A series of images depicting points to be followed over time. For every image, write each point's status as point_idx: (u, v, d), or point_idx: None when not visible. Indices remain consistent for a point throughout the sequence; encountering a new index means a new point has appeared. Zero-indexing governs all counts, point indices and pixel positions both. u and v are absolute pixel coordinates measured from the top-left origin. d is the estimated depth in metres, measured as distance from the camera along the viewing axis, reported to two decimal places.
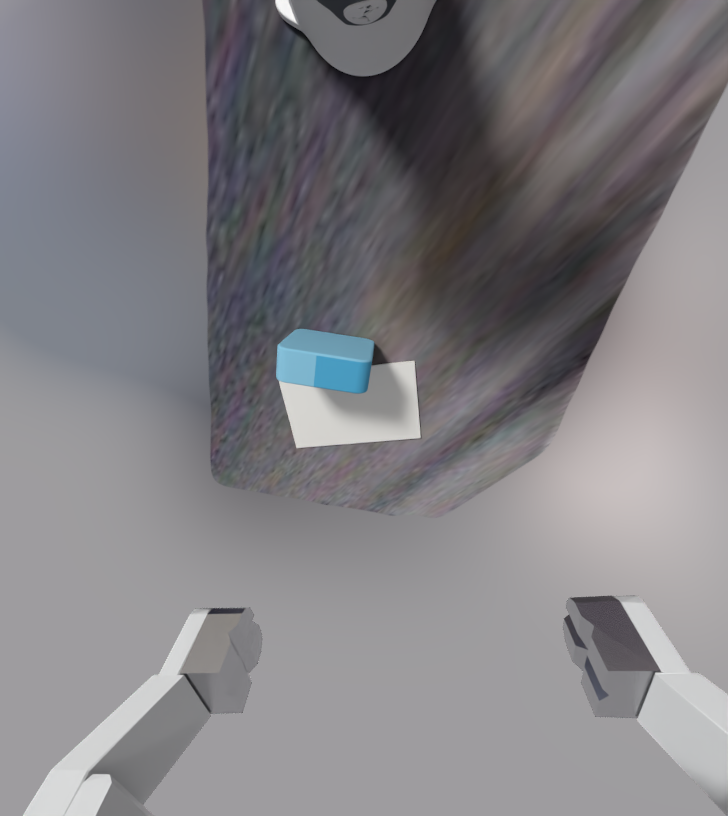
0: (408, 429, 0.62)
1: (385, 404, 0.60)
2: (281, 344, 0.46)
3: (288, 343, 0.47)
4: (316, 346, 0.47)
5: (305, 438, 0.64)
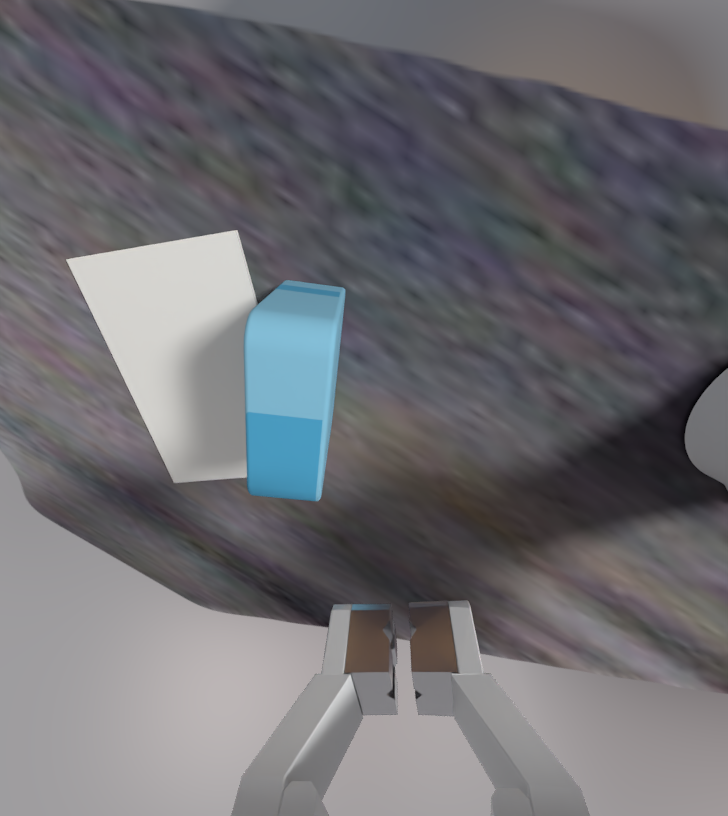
0: (183, 466, 0.37)
1: (221, 434, 0.35)
2: (337, 329, 0.19)
3: None
4: None
5: (100, 283, 0.29)
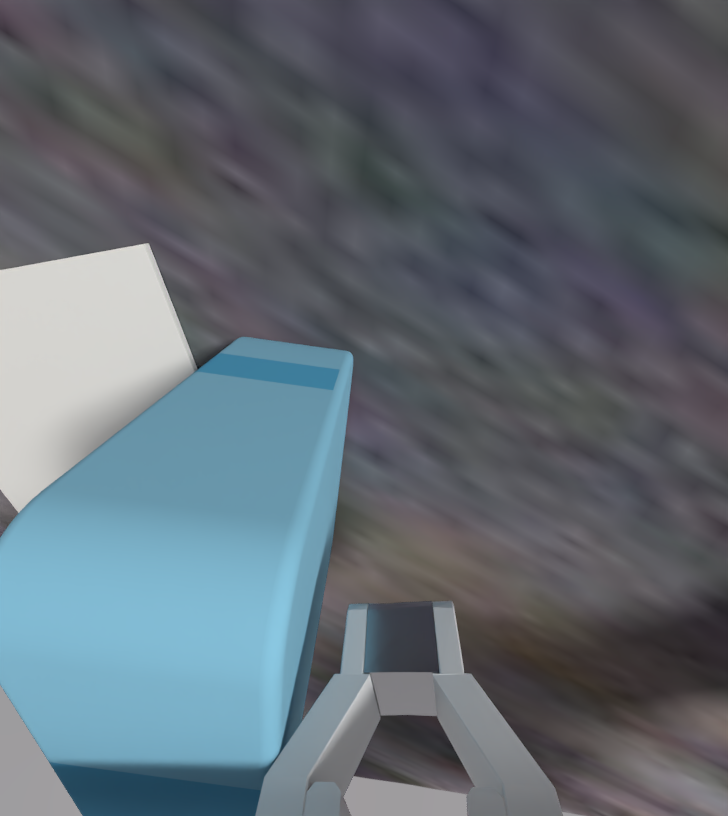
0: None
1: None
2: (302, 558, 0.06)
3: (313, 531, 0.07)
4: (309, 614, 0.09)
5: None
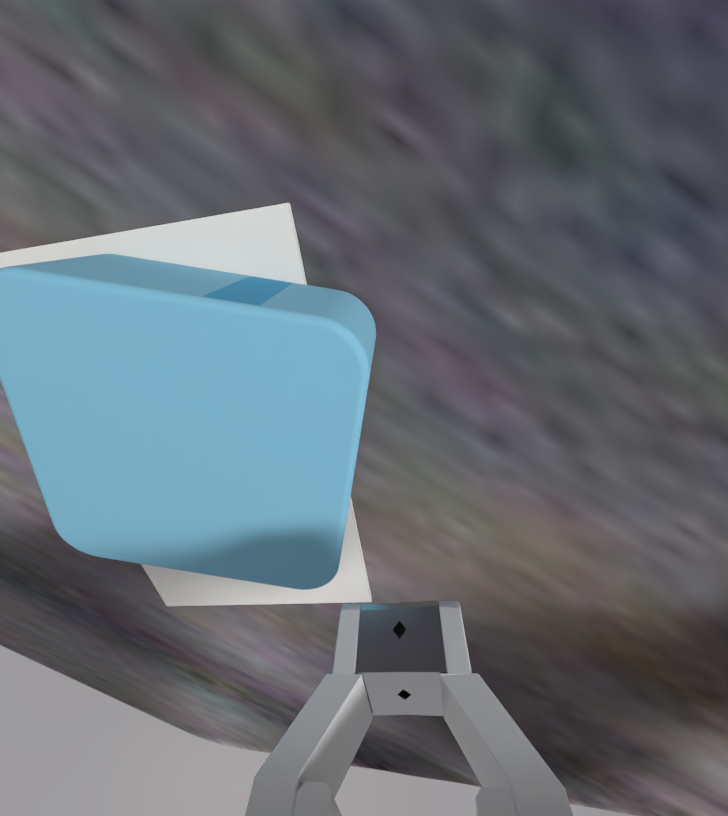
0: (181, 585, 0.24)
1: None
2: (6, 285, 0.10)
3: (49, 310, 0.11)
4: (96, 420, 0.12)
5: None
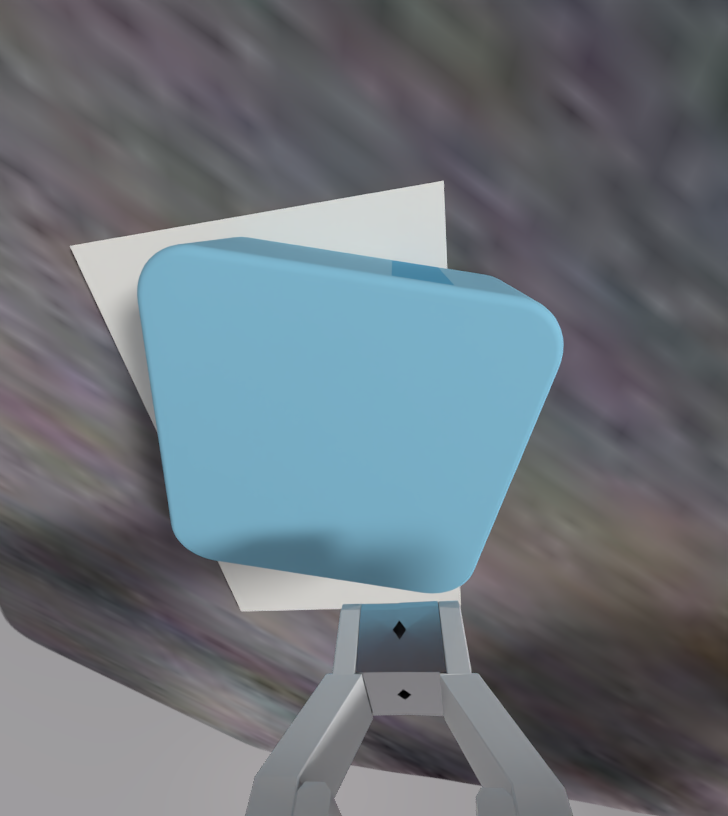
0: (260, 590, 0.23)
1: None
2: (179, 263, 0.10)
3: (222, 292, 0.10)
4: (247, 412, 0.11)
5: None
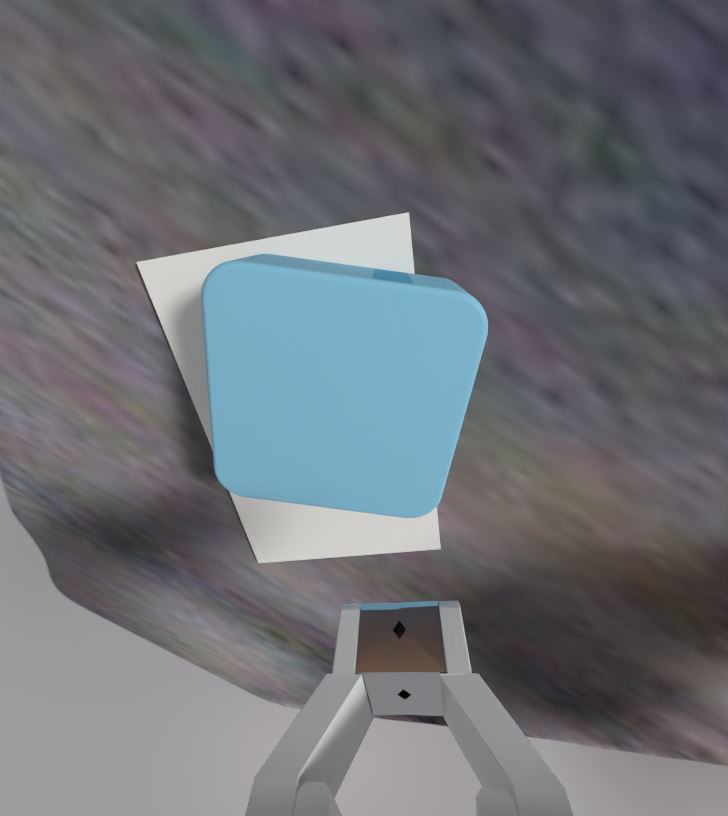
0: (274, 542, 0.27)
1: None
2: (232, 273, 0.14)
3: (260, 291, 0.15)
4: (274, 376, 0.16)
5: (185, 297, 0.19)
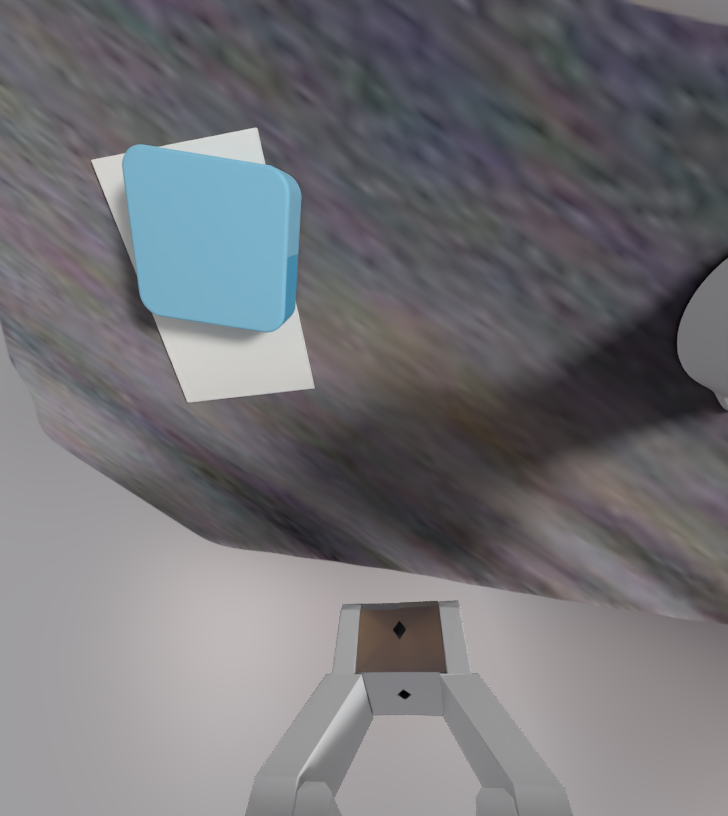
0: (197, 383, 0.38)
1: (235, 348, 0.36)
2: (138, 151, 0.25)
3: (155, 163, 0.26)
4: (169, 222, 0.27)
5: (123, 185, 0.30)
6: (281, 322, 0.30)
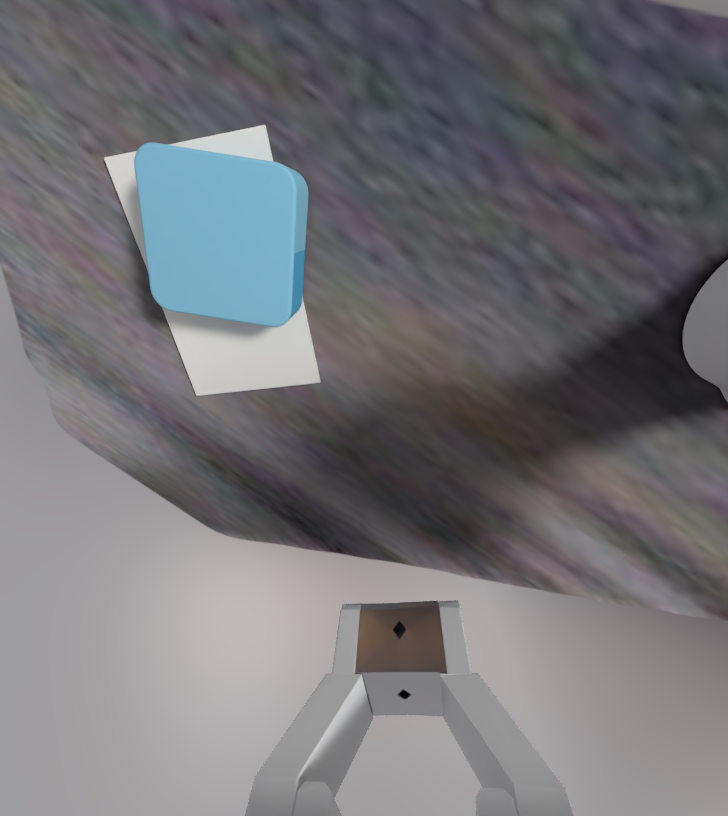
0: (206, 377, 0.39)
1: (243, 342, 0.37)
2: (149, 149, 0.26)
3: (166, 161, 0.26)
4: (179, 218, 0.28)
5: (134, 182, 0.31)
6: (288, 317, 0.31)
